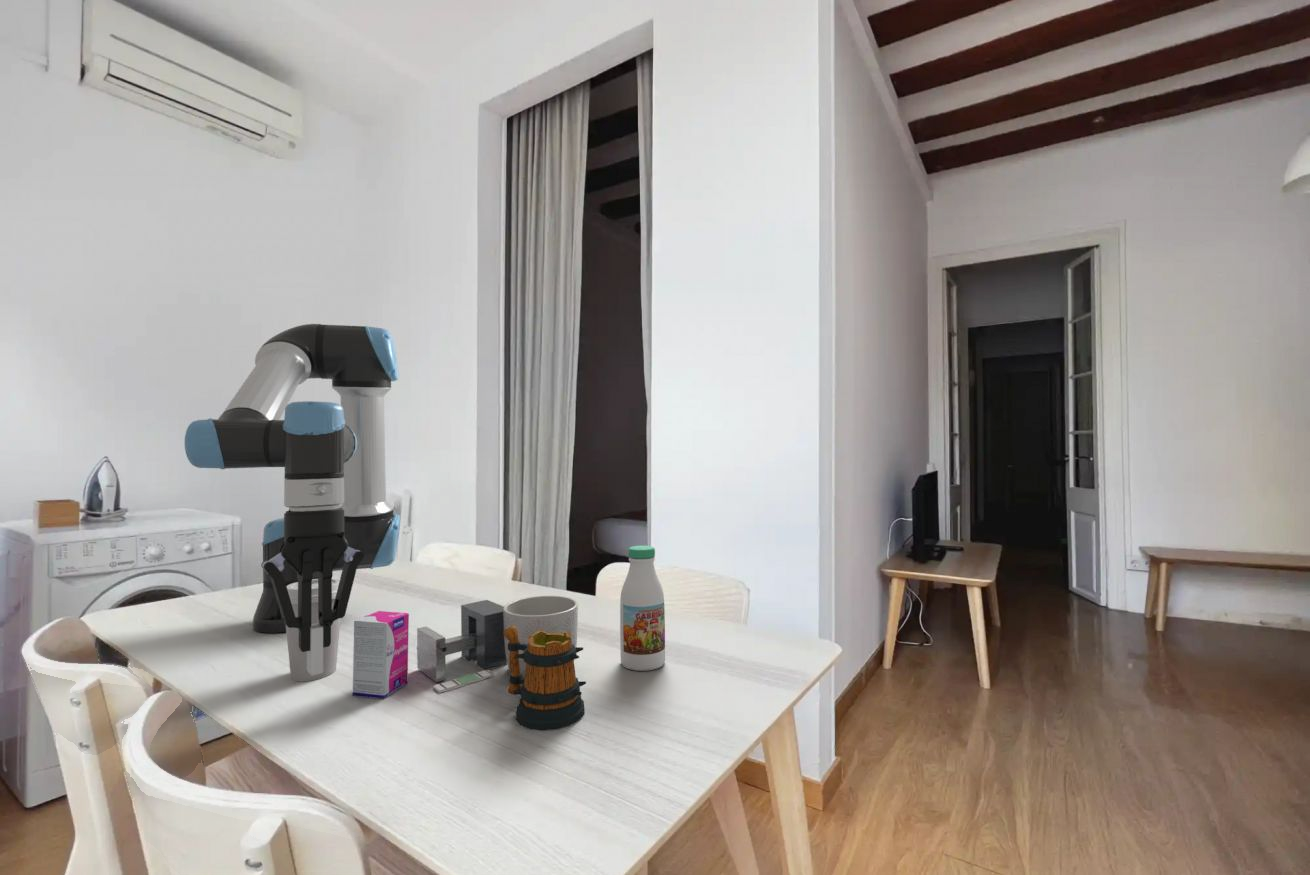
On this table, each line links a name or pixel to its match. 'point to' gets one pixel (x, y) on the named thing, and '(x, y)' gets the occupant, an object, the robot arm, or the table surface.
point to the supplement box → (380, 654)
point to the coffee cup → (295, 654)
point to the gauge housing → (484, 633)
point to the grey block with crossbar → (439, 651)
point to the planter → (540, 619)
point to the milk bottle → (642, 613)
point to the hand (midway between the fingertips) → (314, 671)
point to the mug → (545, 680)
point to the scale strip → (463, 681)
